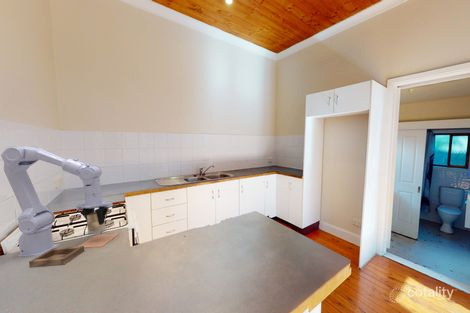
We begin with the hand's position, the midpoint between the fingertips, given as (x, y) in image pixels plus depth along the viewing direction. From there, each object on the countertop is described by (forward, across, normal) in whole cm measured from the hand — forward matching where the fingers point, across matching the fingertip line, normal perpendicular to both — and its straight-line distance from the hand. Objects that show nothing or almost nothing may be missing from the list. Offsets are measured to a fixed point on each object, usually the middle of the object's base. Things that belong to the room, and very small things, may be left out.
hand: (96, 224), depth 80 cm
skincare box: (+8, -9, +11) cm, 16 cm away
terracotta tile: (+8, 0, 0) cm, 8 cm away
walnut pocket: (+8, -6, -12) cm, 16 cm away
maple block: (+2, 0, 0) cm, 2 cm away
